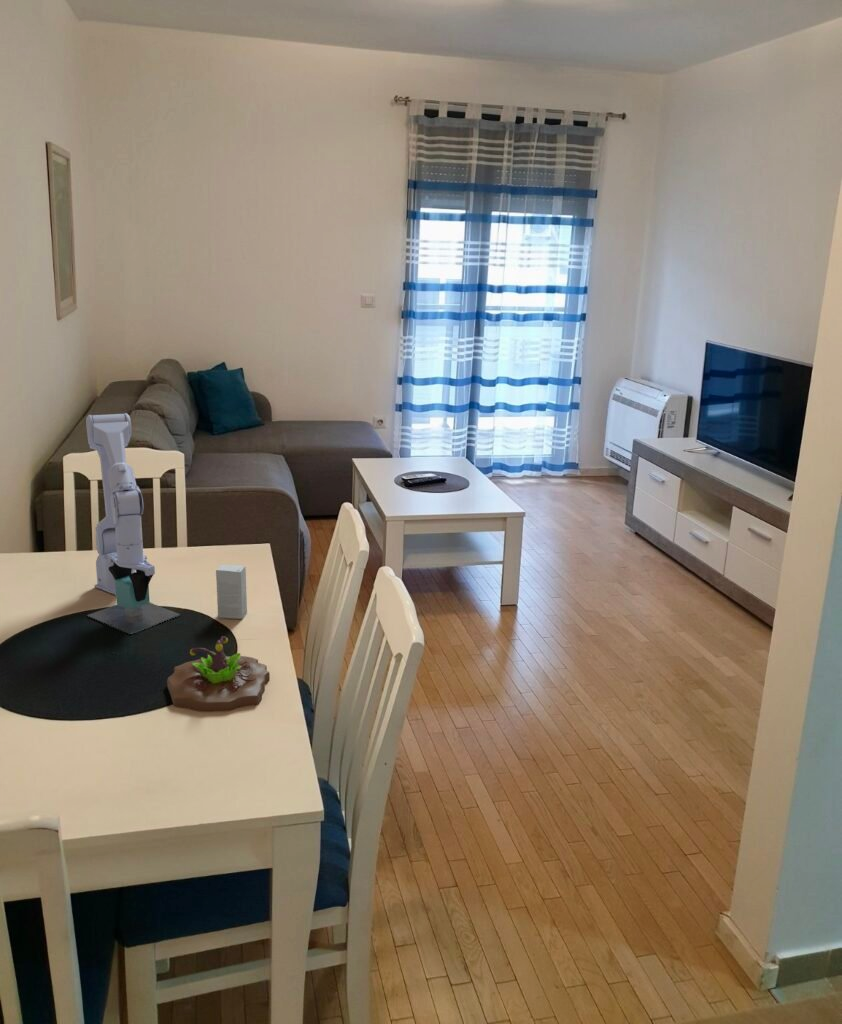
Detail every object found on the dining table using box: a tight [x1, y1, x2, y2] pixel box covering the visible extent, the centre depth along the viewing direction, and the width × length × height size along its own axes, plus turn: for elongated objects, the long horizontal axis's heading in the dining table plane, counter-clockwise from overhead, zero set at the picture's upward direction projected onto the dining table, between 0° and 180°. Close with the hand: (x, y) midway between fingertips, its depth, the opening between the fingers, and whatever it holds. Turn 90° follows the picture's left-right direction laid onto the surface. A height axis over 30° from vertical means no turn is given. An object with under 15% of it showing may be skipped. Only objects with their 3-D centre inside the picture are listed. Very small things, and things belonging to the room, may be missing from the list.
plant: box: [166, 635, 271, 713], centre depth 177 cm, size 20×20×11 cm
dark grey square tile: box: [86, 602, 181, 635], centre depth 209 cm, size 16×14×7 cm
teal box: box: [115, 576, 151, 610], centre depth 208 cm, size 5×5×6 cm
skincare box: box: [215, 564, 248, 620], centre depth 211 cm, size 6×4×12 cm
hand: (132, 597), depth 208 cm, fingers closed on teal box, 5 cm apart
